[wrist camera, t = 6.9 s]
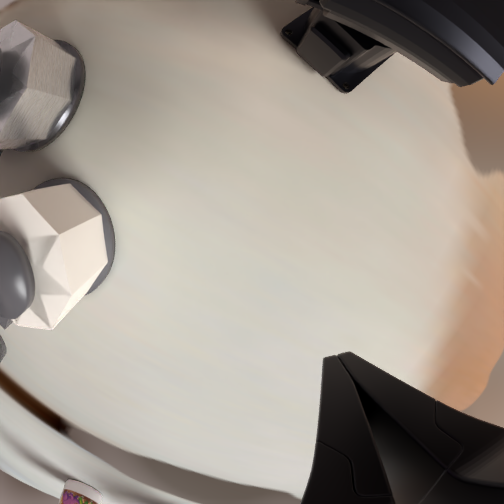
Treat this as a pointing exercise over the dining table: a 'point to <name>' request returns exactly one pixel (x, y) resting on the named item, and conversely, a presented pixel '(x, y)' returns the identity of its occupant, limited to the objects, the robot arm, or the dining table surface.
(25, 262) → the cream plunger
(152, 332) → the dining table surface
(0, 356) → the beverage cup
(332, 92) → the dining table surface
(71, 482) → the milk bottle
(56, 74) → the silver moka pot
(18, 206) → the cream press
